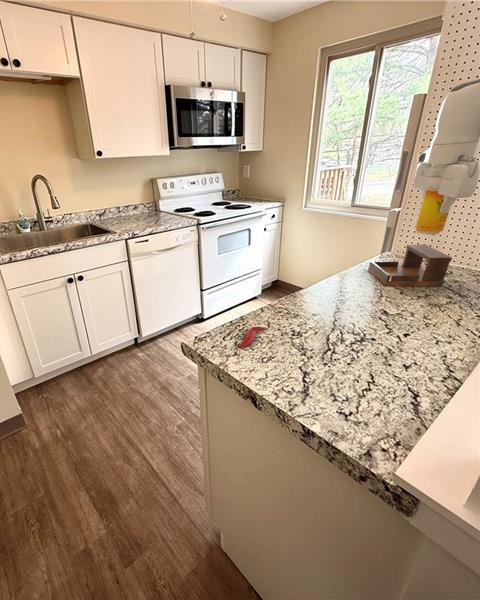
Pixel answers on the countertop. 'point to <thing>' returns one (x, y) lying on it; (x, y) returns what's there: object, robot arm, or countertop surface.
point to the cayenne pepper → (250, 336)
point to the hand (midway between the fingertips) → (434, 210)
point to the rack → (413, 268)
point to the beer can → (431, 209)
